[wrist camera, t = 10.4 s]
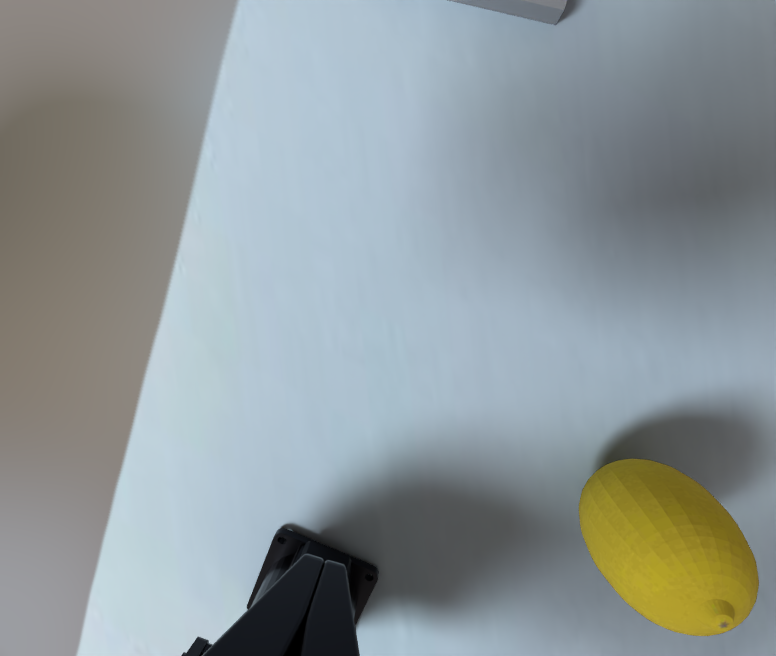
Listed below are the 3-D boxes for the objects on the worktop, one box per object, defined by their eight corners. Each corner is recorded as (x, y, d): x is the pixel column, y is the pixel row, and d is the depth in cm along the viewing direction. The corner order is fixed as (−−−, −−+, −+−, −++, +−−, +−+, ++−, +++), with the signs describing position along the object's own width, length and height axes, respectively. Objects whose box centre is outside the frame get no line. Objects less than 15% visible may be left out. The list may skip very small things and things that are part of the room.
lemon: (577, 535, 21) (660, 705, 14) (542, 449, 21) (610, 579, 13) (683, 505, 20) (838, 671, 13) (652, 413, 19) (798, 531, 12)
